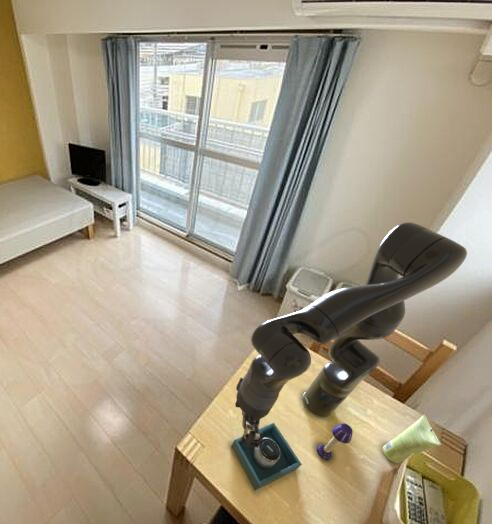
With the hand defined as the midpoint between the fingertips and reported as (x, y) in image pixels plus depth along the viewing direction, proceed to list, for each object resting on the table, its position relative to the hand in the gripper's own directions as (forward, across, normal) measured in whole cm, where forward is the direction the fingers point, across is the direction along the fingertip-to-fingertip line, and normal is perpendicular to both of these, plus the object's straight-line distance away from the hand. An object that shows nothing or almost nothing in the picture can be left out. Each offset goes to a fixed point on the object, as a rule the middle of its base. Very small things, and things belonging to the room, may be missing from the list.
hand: (242, 422), depth 75 cm
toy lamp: (+24, +4, -30) cm, 39 cm away
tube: (+24, +4, -51) cm, 57 cm away
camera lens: (+24, 0, -11) cm, 26 cm away
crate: (+24, 0, -11) cm, 27 cm away
